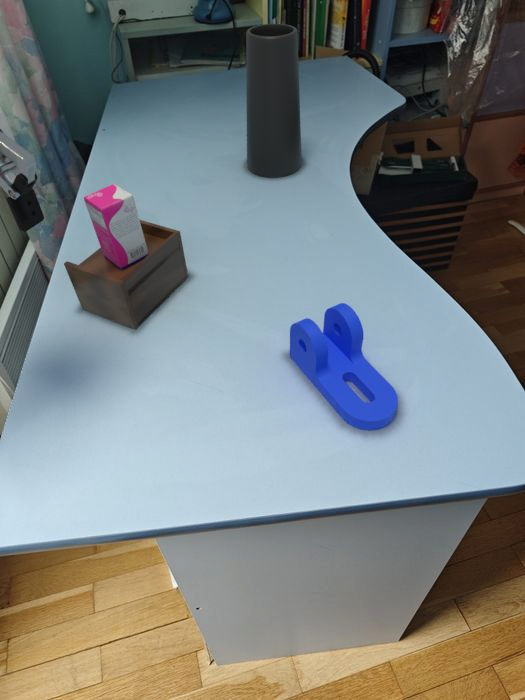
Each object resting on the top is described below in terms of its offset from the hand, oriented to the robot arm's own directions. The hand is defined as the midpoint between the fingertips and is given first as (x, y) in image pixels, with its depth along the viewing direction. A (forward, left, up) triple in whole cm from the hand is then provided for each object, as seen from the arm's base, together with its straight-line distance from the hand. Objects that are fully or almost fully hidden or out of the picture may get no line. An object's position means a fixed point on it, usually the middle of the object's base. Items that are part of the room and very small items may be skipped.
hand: (2, 215), depth 56 cm
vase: (-4, +75, -28) cm, 80 cm away
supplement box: (-4, +19, -20) cm, 28 cm away
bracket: (+38, +16, -28) cm, 50 cm away
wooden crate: (-4, +20, -28) cm, 34 cm away
